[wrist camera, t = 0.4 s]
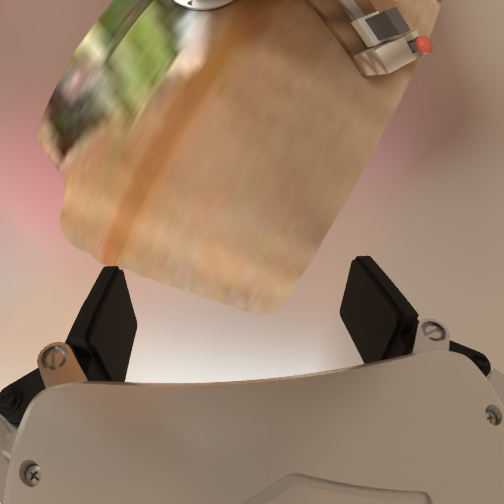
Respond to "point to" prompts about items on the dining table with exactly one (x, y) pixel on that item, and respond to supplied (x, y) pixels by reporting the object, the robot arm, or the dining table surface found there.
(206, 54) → the dining table surface
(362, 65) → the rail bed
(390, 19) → the carriage
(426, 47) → the red rounded knob
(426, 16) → the dining table surface
